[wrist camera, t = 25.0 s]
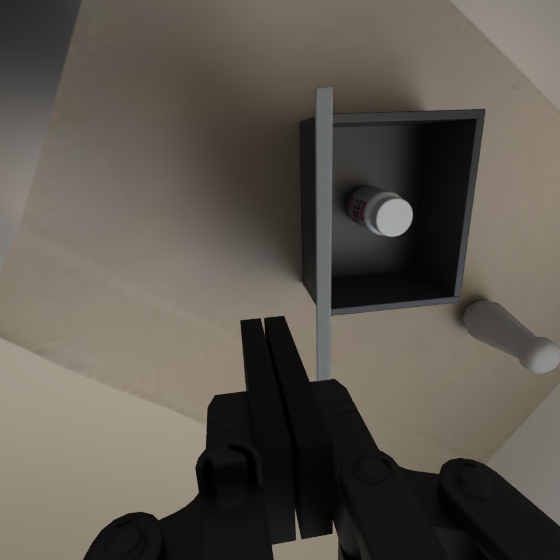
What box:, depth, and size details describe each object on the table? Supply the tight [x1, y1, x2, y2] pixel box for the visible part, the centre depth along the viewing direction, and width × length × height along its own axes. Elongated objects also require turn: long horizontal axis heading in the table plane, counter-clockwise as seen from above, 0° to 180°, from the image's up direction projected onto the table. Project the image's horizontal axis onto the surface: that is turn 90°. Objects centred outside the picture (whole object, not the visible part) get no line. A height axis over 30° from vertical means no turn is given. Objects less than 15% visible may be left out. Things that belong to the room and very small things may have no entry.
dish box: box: [299, 109, 485, 316], centre depth 42 cm, size 16×20×10 cm
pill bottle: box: [347, 186, 413, 237], centre depth 42 cm, size 5×5×8 cm
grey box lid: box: [315, 86, 333, 381], centre depth 28 cm, size 16×20×1 cm
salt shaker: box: [463, 301, 560, 374], centre depth 49 cm, size 6×6×13 cm
